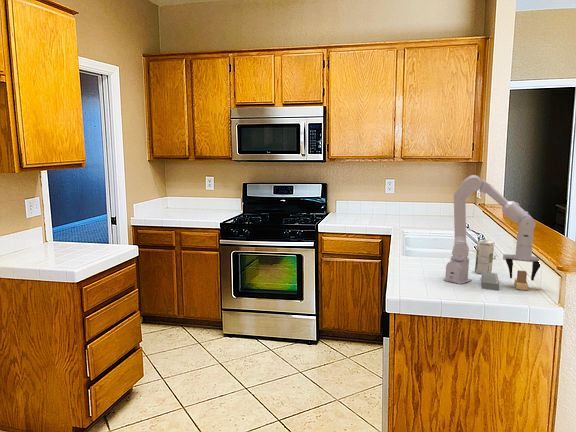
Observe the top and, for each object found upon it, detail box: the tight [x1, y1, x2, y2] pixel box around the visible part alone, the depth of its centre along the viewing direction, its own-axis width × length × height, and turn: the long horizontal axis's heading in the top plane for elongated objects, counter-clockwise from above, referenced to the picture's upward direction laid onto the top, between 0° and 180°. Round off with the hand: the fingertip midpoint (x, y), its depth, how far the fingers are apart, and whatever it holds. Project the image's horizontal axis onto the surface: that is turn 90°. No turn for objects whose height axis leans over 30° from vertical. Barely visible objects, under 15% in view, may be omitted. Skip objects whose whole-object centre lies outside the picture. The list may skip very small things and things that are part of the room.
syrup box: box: [474, 239, 495, 275], centre depth 209 cm, size 6×6×14 cm
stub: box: [513, 269, 529, 291], centre depth 187 cm, size 4×10×6 cm, turn 158°
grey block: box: [481, 272, 500, 291], centre depth 192 cm, size 6×18×3 cm, turn 158°
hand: (521, 278), depth 187 cm, fingers open, 7 cm apart
